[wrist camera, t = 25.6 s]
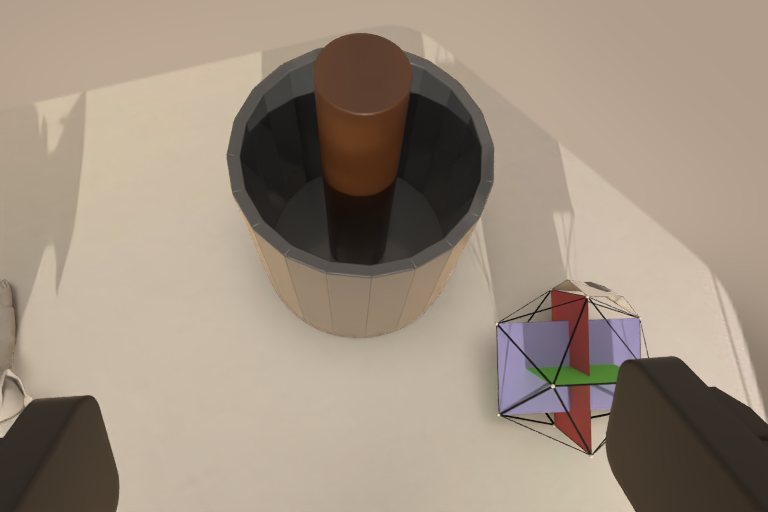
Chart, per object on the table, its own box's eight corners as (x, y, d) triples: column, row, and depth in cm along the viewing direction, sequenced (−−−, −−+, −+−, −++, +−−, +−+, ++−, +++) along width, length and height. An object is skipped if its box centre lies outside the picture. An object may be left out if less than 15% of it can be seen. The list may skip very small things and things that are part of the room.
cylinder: (335, 275, 29) (323, 122, 16) (324, 223, 30) (304, 39, 17) (391, 264, 30) (423, 106, 17) (379, 213, 31) (399, 26, 18)
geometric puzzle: (656, 485, 25) (715, 350, 21) (505, 495, 25) (533, 358, 20) (593, 371, 31) (629, 248, 27) (470, 377, 31) (487, 252, 26)
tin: (282, 357, 28) (249, 303, 19) (252, 183, 32) (211, 63, 22) (472, 315, 30) (528, 245, 20) (424, 152, 33) (454, 27, 24)
